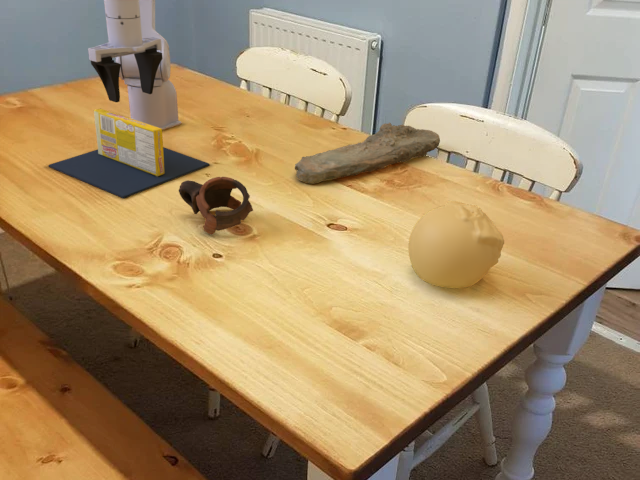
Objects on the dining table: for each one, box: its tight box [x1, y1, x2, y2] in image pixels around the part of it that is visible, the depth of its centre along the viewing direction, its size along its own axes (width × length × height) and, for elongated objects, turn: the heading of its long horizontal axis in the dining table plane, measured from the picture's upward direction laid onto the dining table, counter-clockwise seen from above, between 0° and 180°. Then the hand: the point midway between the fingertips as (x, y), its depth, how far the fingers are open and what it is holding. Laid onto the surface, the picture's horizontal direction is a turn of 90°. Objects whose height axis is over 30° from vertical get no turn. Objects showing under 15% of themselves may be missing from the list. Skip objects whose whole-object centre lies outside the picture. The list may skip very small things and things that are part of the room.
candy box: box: [93, 108, 164, 177], centre depth 122 cm, size 16×2×8 cm, turn 53°
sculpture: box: [407, 200, 505, 289], centre depth 94 cm, size 12×12×11 cm
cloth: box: [48, 146, 210, 199], centre depth 124 cm, size 20×20×1 cm
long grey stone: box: [294, 122, 441, 185], centre depth 130 cm, size 35×5×10 cm
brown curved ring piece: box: [178, 176, 254, 236], centre depth 106 cm, size 12×10×8 cm
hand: (131, 96), depth 125 cm, fingers open, 7 cm apart
